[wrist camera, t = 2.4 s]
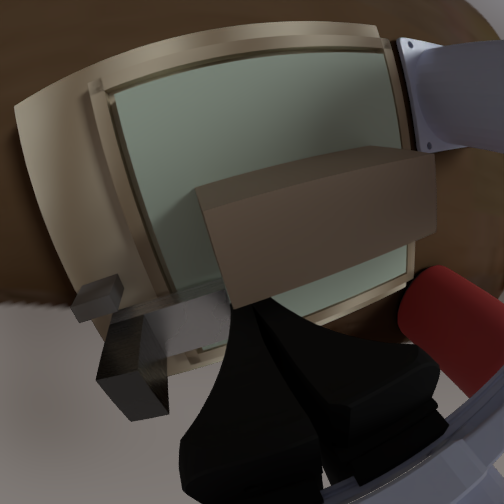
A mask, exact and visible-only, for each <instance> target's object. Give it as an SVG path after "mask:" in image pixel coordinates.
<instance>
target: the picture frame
mask: <svg viewBox="0 0 504 504" xmlns="http://www.w3.org/2000/svg"><path fill="white" fill-rule="evenodd" d="M323 52H355V53H377V54H383V55H384V59H385V63H386V67H387V71H388V75H389V79H390V84H391V89H392V93H393V98H394V104H395V109H396V115H397V121H398V127H399V134H400V142H401V149H406V150H411V146H410V138H409V130H408V123H407V117H406V111H405V105H404V100H403V94H402V89H401V85H400V80H399V76H398V71H397V67H396V63H395V59H394V55H393V52H392V48H391V44H390V41H389V39H385V38H380V37H379V34H378V31H377V28H376V26H373V25H365V24H355V23H342V22H321V21H293V22H271V23H258V24H248V25H239V26H232V27H225V28H218V29H213V30H207V31H202V32H197V33H192V34H187V35H183V36H179V37H175V38H171V39H167V40H163V41H159V42H156V43H152V44H149V45H146V46H142V47H139V48H136V49H133V50H130V51H127V52H124V53H122V54H119V55H116V56H113V57H111V58H108V59H106V60H103V61H101V62H98V63H96V64H93V65H91V66H89V67H86V68H84V69H82V70H80V71H78V72H75V73H73V74H71V75H69V76H67V77H65V78H63V79H61V80H59V81H57V82H55V83H53V84H51V85H50V86H48V87H46V88H44V89H42V90H41V91H39V92H37V93H35V94H34V95H32V96H30V97H29V98H27V99H25V100H24V101H22V102H20V103H19V104H17V105H16V106H14V110H15V116H16V121H17V127H18V132H19V136H20V141H21V145H22V150H23V154H24V158H25V162H26V165H27V169H28V173H29V176H30V180H31V183H32V186H33V189H34V193H35V196H36V199H37V202H38V205H39V207H40V210H41V213H42V216H43V219H44V221H45V224H46V226H47V229H48V232H49V234H50V237H51V239H52V241H53V244H54V246H55V249H56V251H57V253H58V255H59V258H60V260H61V262H62V264H63V266H64V269H65V271H66V273H67V275H68V277H69V279H70V281H71V283H72V285H73V287H74V289H75V291H76V293H77V296H76V298H75V300H74V302H73V304H72V305H71V307H70V308H71V310H72V312H73V313H74V315H75V317H76V319H77V320H78V322H79V323H81V322H84V321H88V320H92V322H93V323H94V325H95V327H96V329H97V330H98V332H99V334H100V335H101V337H102V338H103V340H104V342H105V339H106V336H107V332H108V328H109V325H110V321H111V318H112V314H113V313H114V312H118V310H119V309H123V308H126V307H129V306H132V305H136V304H139V303H142V302H145V301H148V300H152V299H155V298H158V297H161V296H164V295H168V294H171V293H174V292H177V290H176V287H175V285H174V282H173V280H172V277H171V275H170V272H169V270H168V267H167V265H166V262H165V259H164V257H163V254H162V251H161V249H160V246H159V243H158V241H157V238H156V235H155V232H154V230H153V227H152V224H151V221H150V218H149V215H148V212H147V209H146V206H145V203H144V200H143V197H142V194H141V191H140V188H139V185H138V182H137V178H136V175H135V172H134V168H133V165H132V162H131V158H130V155H129V151H128V148H127V144H126V141H125V137H124V133H123V129H122V126H121V122H120V118H119V114H118V110H117V105H116V101H115V97H114V94H116V93H119V92H122V91H124V90H127V89H130V88H133V87H135V86H138V85H141V84H144V83H148V82H151V81H154V80H157V79H160V78H164V77H167V76H171V75H175V74H178V73H182V72H186V71H190V70H194V69H198V68H203V67H207V66H212V65H217V64H222V63H227V62H233V61H239V60H245V59H252V58H259V57H267V56H276V55H287V54H301V53H323ZM414 260H415V241H414V242H412V243H410V244H407V251H406V272H405V273H403V274H401V275H399V276H397V277H395V278H392V279H390V280H388V281H386V282H384V283H382V284H379V285H377V286H375V287H373V288H370V289H368V290H366V291H364V292H361V293H359V294H357V295H354V296H352V297H350V298H347V299H345V300H343V301H340V302H338V303H335V304H333V305H330V306H328V307H326V308H323V309H321V310H318V311H315V312H313V313H310V314H308V315H305V316H303V318H305V319H307V320H309V321H311V322H313V323H315V324H317V325H319V326H321V325H323V324H326V323H328V322H330V321H333V320H335V319H338V318H340V317H342V316H345V315H347V314H349V313H351V312H354V311H356V310H358V309H360V308H363V307H365V306H367V305H369V304H371V303H373V302H376V301H378V300H380V299H382V298H384V297H386V296H388V295H390V294H392V293H394V292H396V291H398V290H400V289H402V288H404V287H406V282H407V281H409V280H411V279H413V277H414ZM226 346H227V343H226V344H223V345H219V346H216V347H213V348H210V349H206V350H203V349H202V347H201V348H197V349H194V350H191V351H187V352H184V353H180V354H177V355H173V356H170V357H167V377H168V376H171V375H175V374H179V373H183V372H186V371H190V370H193V369H197V368H200V367H204V366H207V365H210V364H214V363H217V362H220V361H223V358H224V355H225V351H226Z"/></svg>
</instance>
